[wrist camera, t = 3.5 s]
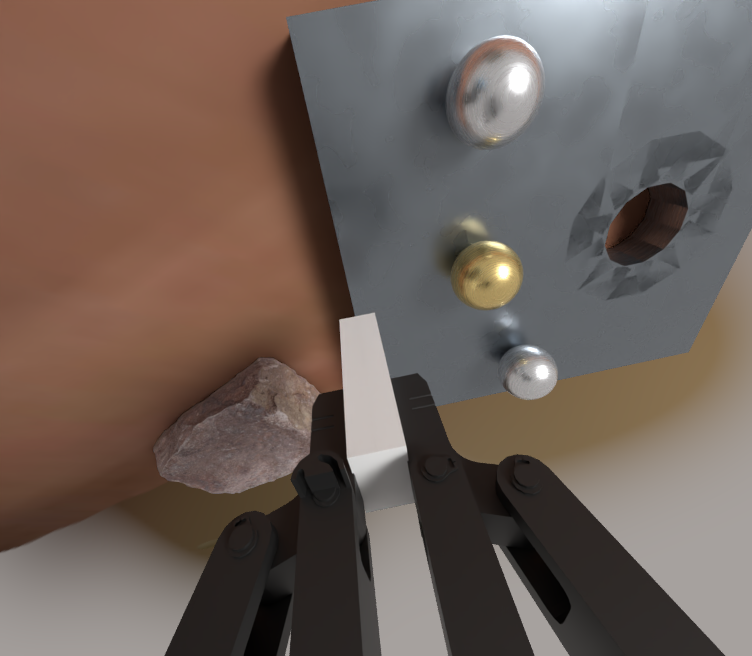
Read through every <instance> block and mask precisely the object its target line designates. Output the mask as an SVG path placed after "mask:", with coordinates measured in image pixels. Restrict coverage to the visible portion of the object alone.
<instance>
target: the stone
mask: <svg viewBox="0 0 752 656" xmlns="http://www.w3.org/2000/svg"><path fill="white" fill-rule="evenodd" d="M319 394H321V393H319V392H318V391H317V390H316V388H315V387H314V386H313V385H311V384H309V383H308V382H307V381H306V379H305V378H303V377H301V376H299V375H297V374H296V372H295V370H293V369H291V368H289V367H288V366H287V365H286V364H283V363H280V362H279V361H277V360H276V359H275V358H258V359H257V360H256V361H255V362H254V363H253V364H251V365H250V366H249V367H247V368H246V369H245V370H243V371H242V372H240V373H238V374H237V375H236V377H235V378H233V379H231V380H230V381H229V382H227V383H226V384H225V385H223V386H222V387H220V388H219V389H218V390H216V391H215V392H214V393H212V394H211V395H210V396H209V397H208V398H207V399H205V400H204V401H202V402H200V403H198V404H196V405H195V406H193V407H192V408H191V409H189V410H188V411H186V412H185V413H183V414H182V415H181V416H180V417H179V418H178V420H177V422H176V423H174V424H173V425H171V426H170V427H169V429H167V430H165V431H164V432H163V433H162V435H161V436H160V437H159V438H158V440H157V442H156V443H155V445H154V448H153V452H155V455H156V460H157V468H158V471H159V473H160V476H162V477H164V478H166V479H167V480H168V481H176V482H181V483H185V484H186V485H187V486H189V487H193V488H200V489H202V490H206V491H208V492H209V493H214V494H220V493H232V494H234V493H236V492H238V493H240V492H242V491H244V490H247V489H249V488H253V487H255V486H257V485H260V484H263V483H266V482H269V481H274V480H275V479H277V478H280V477H283V476H285V475H288V474H290V473H292V472H293V470H294V469H295V467H296V466H297V464H298V463H299V462H300V461H301V460H302V459H303V458H304V457H306V456H307V455H308V454H310V439H311V422H312V406H313V404H314V402H315V400H316V398H317V397H318V395H319Z"/></svg>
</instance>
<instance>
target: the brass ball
mask: <svg viewBox="0 0 752 656" xmlns="http://www.w3.org/2000/svg"><path fill="white" fill-rule="evenodd" d="M450 279H451V285H452V289H453V291H454V293H455V295H456V296H457V297H458V299H459V300H460V301H461V302H462V303H464V304H465V305H467V306H469V307H471V308H473V309H477V310H493V309H497V308H500V307H502V306H504V305H505V304H507V303H508V302H510V301H511V300H512V299H513V298H514V297H515V296H516V294H517V293H518V291H519V290H520V287H521V285H522V281H523V266H522V263H521V260H520V258H519V257H518V255H517V254H516V252H515V251H514V250H513V249H512V248H510V247H509V246H507V245H505V244H503V243H501V242H497V241H480V242H477V243H474V244H472V245H470V246H468V247H467V248H465V249H464V250H463V251H462V252H461V253H460V254H459V255H458V256H457V258H456V259H455V261H454V263H453V266H452V269H451V277H450Z"/></svg>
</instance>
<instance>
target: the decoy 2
mask: <svg viewBox="0 0 752 656" xmlns="http://www.w3.org/2000/svg"><path fill="white" fill-rule="evenodd" d="M498 377H499V380H500V382H501V384H502V386H503V387H504V388H505V389H506V390H507V391H508V392H509V393H510V394H512V395H514V396H516V397H518V398H521V399H527V400H531V399H538V398H541V397H543V396H545V395H547V394H548V393H549V392H550V391H551V390H552V389H553V388H554V386H555V384H556V382H557V378H558V369H557V365H556V363H555V361H554V359H553V358H552V356H551V355H550V354H549V353H548V352H547V351H545V350H544V349H542V348H540V347H537V346H534V345H526V344H525V345H518V346H515V347H513V348H511V349H509V350H508V351H507V352H505V353H504V355H503V356H502V357H501V359H500V361H499V364H498Z"/></svg>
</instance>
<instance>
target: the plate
mask: <svg viewBox="0 0 752 656" xmlns="http://www.w3.org/2000/svg"><path fill="white" fill-rule="evenodd" d="M286 19H287V24H288V28H289V32H290V36H291V41H292V45H293V49H294V54H295V58H296V62H297V67H298V71H299V75H300V80H301V84H302V88H303V93H304V97H305V101H306V106H307V110H308V114H309V119H310V123H311V127H312V132H313V136H314V140H315V145H316V149H317V153H318V158H319V162H320V166H321V171H322V175H323V179H324V184H325V188H326V192H327V197H328V201H329V205H330V210H331V214H332V218H333V223H334V227H335V231H336V235H337V240H338V244H339V248H340V253H341V257H342V261H343V266H344V270H345V274H346V279H347V283H348V287H349V292H350V296H351V300H352V305H353V309H354V313H355V316H360V315H365V314H370V313H375V316H376V320H377V324H378V329H379V333H380V337H381V341H382V346H383V350H384V354H385V358H386V362H387V367H388V371H389V375H390V379H391V378H396V377H401V376H406V375H410V374H415V373H418V374H419V375H420V376H421V377H422V378H423V379H424V380H425V381H426V382H427V383H428V386H429V389H430V391H431V395H432V397H433V400H434V402H435V406H440V405H445V404H449V403H454V402H459V401H463V400H468V399H473V398H477V397H482V396H486V395H491V394H496V393H500V392H505V391H507V390H506V389H505V388H504V387H503V386H502V384H501V382H500V380H499V377H498V364H499V361H500V359H501V357H502V356H503V355H504V353H505V352H507V351H508V350H509V349H511V348H513V347H515V346H518V345H525V344H526V345H534V346H537V347H540V348H542V349H544V350H545V351H547V352H548V353H549V354H550V355H551V356H552V358H553V359H554V361H555V363H556V365H557V369H558V378H557V380H560V379H566V378H570V377H575V376H580V375H584V374H588V373H593V372H598V371H603V370H607V369H612V368H617V367H621V366H626V365H631V364H635V363H640V362H644V361H649V360H654V359H659V358H663V357H668V356H673V355H677V354H682V353H686V352H689V350H690V348H691V346H692V344H693V342H694V340H695V338H696V337H697V335H698V333H699V331H700V329H701V327H702V325H703V323H704V321H705V319H706V317H707V315H708V313H709V311H710V309H711V307H712V305H713V303H714V301H715V299H716V297H717V295H718V293H719V291H720V289H721V287H722V285H723V284H724V282H725V280H726V278H727V276H728V274H729V272H730V269H731V268H732V266H733V264H734V262H735V260H736V258H737V256H738V254H739V252H740V250H741V248H742V246H743V244H744V242H745V240H746V238H747V236H748V234H749V232H750V231H751V228H752V0H377V1H371V2H366V3H360V4H355V5H350V6H344V7H339V8H333V9H328V10H322V11H317V12H312V13H306V14H301V15H295V16H290V17H286ZM503 35H507V36H514V37H518V38H520V39H522V40H524V41H526V42H527V43H528V44H530V45H531V46H532V47H533V48H534V49H535V50H536V52H537V54H538V55H539V57H540V60H541V62H542V65H543V68H544V74H545V89H544V95H543V99H542V103H541V106H540V108H539V111H538V113H537V115H536V117H535V118H534V120H533V121H532V123H531V124H530V126H529V127H528V128H527V129H526V130H525V132H524V133H523V134H522V135H520V136H519V137H518V138H517V139H515V140H514V141H513V142H511V143H509V144H508V145H506V146H503V147H501V148H497V149H494V150H478V149H474V148H471V147H469V146H467V145H465V144H463V143H462V142H461V141H460V140H459V139H458V138H457V137H456V136H455V134H454V133H453V131H452V130H451V127H450V125H449V123H448V119H447V115H446V94H447V89H448V85H449V82H450V79H451V76H452V74H453V72H454V70H455V68H456V67H457V65H458V64H459V62H460V61H461V60H462V58H463V57H464V56H465V55H466V54H467V53H468V52H469V51H470V50H471V49H472V48H473V47H474V46H476V45H478V44H479V43H481V42H482V41H484V40H486V39H489V38H492V37H496V36H503ZM646 188H648V189H649V193H650V197H651V199H650V202H649V206H648V209H647V212H646V215H645V218H644V219H643V221H642V222H641V223H640V225H639V226H638V227H637V228H636V230H635V231H634V232H633V234H632V235H631V236H630V237H628V238H627V239H625V240H624V241H622V242H621V243H619V244H618V245H616V246H615V247H613V248H609V249H606V248H605V242H606V238H607V234H608V230H609V226H610V224H611V222H612V221H613V220H614V218H615V217H616V216H617V214H618V213H619V212H620V210H621V209H622V207H623V206H624V205H625V203H626V202H628V201H629V200H631V199H632V198H633V197H635V196H636V195H638V194H639V193H641V192H642V191H643V190H645V189H646ZM480 241H497V242H501V243H503V244H505V245H507V246H509V247H510V248H512V249H513V250H514V251H515V252H516V254H517V255H518V257H519V258H520V260H521V263H522V266H523V281H522V285H521V287H520V290H519V291H518V293H517V294H516V296H515V297H514V298H513V299H512V300H511V301H510V302H508V303H507V304H505V305H504V306H502V307H500V308H497V309H493V310H477V309H473V308H471V307H469V306H467V305H465V304H464V303H462V302H461V301H460V300H459V299H458V297H457V296H456V295H455V293H454V291H453V289H452V285H451V279H450V277H451V269H452V266H453V263H454V261H455V259H456V258H457V256H458V255H459V254H460V253H461V252H462V251H463V250H464V249H465V248H467V247H468V246H470V245H472V244H474V243H477V242H480Z"/></svg>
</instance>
